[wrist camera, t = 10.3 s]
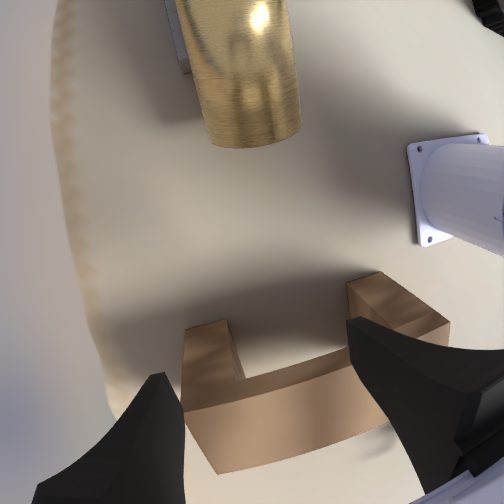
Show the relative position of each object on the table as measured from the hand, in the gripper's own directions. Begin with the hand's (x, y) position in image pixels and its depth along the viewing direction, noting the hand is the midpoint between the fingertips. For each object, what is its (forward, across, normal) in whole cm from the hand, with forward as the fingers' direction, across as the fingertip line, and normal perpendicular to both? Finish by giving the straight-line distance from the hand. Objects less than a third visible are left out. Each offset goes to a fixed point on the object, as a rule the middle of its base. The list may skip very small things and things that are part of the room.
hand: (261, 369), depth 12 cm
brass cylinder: (+7, -3, -15) cm, 17 cm away
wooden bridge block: (+10, -3, +6) cm, 12 cm away
